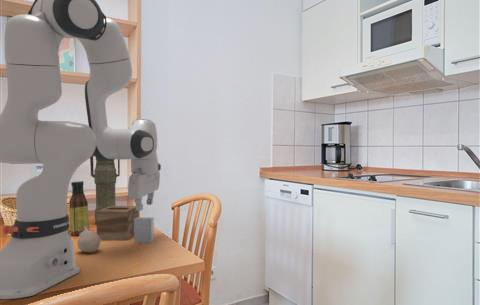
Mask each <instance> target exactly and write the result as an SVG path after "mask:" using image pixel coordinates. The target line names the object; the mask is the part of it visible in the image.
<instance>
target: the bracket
mask: <svg viewBox="0 0 480 305" xmlns="http://www.w3.org/2000/svg"><path fill="white" fill-rule="evenodd" d="M154 224H155V219H154V217H152V216H151V217H145V216H144V217H140V216H139V217H137V218H135V219H134V236H133V239H134V240H133V242H134V243H153V242H154V241H155V226H154Z"/></svg>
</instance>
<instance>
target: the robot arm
mask: <svg viewBox="0 0 480 305" xmlns="http://www.w3.org/2000/svg"><path fill="white" fill-rule="evenodd" d="M64 38H65V39H77V40H78V41H79V42H80V43H81V45H82V47H83V48H84V51H85V54H86V57H87V63H88V66H89V78H88V80H87V81H86V82H85V85H84V101H85V108H86V116H87V122H88V124H85V123H79V122H75V121H71V120H70V121H69V120H68V121H67V120H61V121H60V120H39V116H38V115H39V112H40V110H43V109H46V108H48V107H50V106H53V105H54V104H56V103H57V102H58V101H59V100H60V99H61V97H62V94H63V91H62V90H63V89H62V78H61V65H60V57H59V56H60V55H59V51H60V44H61V42H62V40H63V39H64ZM128 50H129V49H128V46H127V43H126V41H125V37H124V35H123V32H122V30H121V28H120V25H119V24H118V23H117V22H116V21H115V20H114V19H112V18H109V17H107V16H106V14H104V12H103V11H102V9H101V7H100V5H99V3H98V2H97V1H96V0H34V1H33V2H32V5H31V7H30V9H29V11H28V12H27V13H24V14H17V15H13V16H11V17H10V18H9V19H8V20H7V22H6V23H5V30H4V60H5V69H6V78H7V79H6V80H7V97H6V98H7V99H6V102H5V106H4V108H3V110H1V113H0V163H3V164H9V165H25V164H27V165H29V164H31V165H32V164H37V165H38V164H41V165H43V166H42V170H41V172H40V174H38V175H37V176H34V177H32V178H30V179H28V180H26V181H24V182H23V183H21V185H20V186H18V189H17V191H16V194H15V195H16V196H15V198H16V204H15V205H16V219H15V220H14V223H13V225H7V224H6V225H4V226H3V228H2V233H3V234H4V235H10V236H11V237H10V239H9V241H7V243H6V244H5V245H4V246H3V247H2V249H1V250H0V300H11V299H13V300H14V299H21V298H27V297H31V296H34V295H37V294H39V293H41V292H43V291H44V290H46V289H49V288H51V287H53V286H55V285H57V284H58V283H60V282H62V281H65V280H66V279H69V278H71V277H72V276H75V275H76V274H77V275H78V274H79V273H80V272H81V271H80V266H78V265H76V256H75V255H76V254H75V247H74V240H73V238H72V237H71V236H70V235H71V234H69V231H68V230H69V228H70V215H69V214H68V192H69V185H70V182H71V179H72V178H73V175H74V174H75V172H76V171H77V170H78V168H79V167H81V166H82V165H83V163H85V162H86V161H88V160H90V157H91V156H92V155H94V157H95V159H96V158H97V159H99V160H112V159H115V160H118V159H120V160H130V174H131V175H129V177H128V184H127V196H128V198H129V200H132V199H133V200H134V204H135V206H136V210H137V211H139V212H140V211H142V210H144V204H143V197H146V196H147V199H146V205H147V206H151V205H153V204H154V196H155V192H156V191H158V190H159V187H160V181H161V180H160V178H161V177H160V171H161V170H162V165H161V163H159V162H158V154H157V149H158V133H157V127H156V123H155V122H154V121H153V120H150V119H143V118H138V119H137V118H136V119H133V120H132V122H131V126H130V127H128V128H123V129H122V128H120V129H119V128H114V129H113V128H111V127H109V126H108V125H109V124H108V118H107V110H106V109H107V108H106V103H107V99H108V98H109V97H110V96H112V95H113V94H116V93H117V92H119V91H121V90H122V89H125V87H126V86H128V85H129V83H130V82H131V79H132V77H133V68H132V62H131V59H130V58H131V56H130V53H129V51H128Z"/></svg>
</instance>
